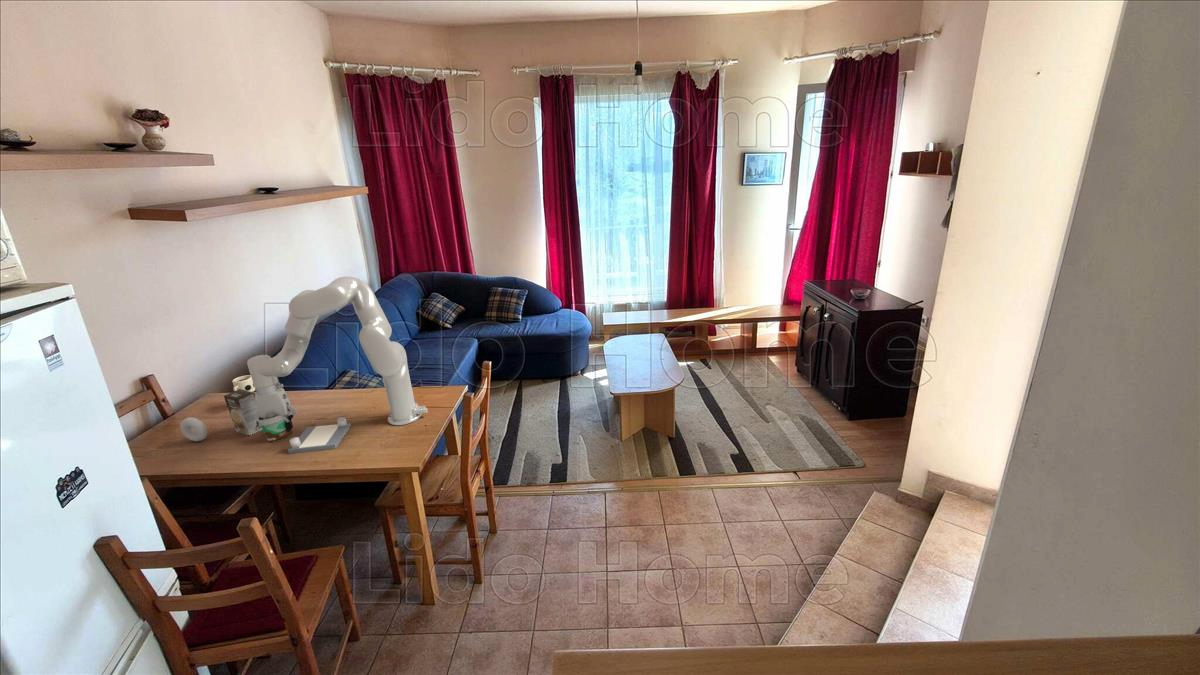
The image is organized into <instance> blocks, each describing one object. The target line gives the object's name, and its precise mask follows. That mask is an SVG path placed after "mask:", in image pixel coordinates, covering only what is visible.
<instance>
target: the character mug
mask: <svg viewBox="0 0 1200 675" xmlns="http://www.w3.org/2000/svg"><path fill="white" fill-rule="evenodd" d="M232 384H233V387H232V388H233V392H234V391H236V390H239V389H242V390H246V391H250V392H253V393H254V396H255V394H256V390H255V387H254V384H253V381H252V378H251V375H250V374H248V375H247V374H246V375H242V376H238V377H236V378H234V379H232Z"/></svg>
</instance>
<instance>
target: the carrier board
mask: <svg viewBox="0 0 1200 675" xmlns="http://www.w3.org/2000/svg"><path fill="white" fill-rule="evenodd" d="M336 422H337V423H335V424H328V425H317V426H309V427H306V428H305V430H303V432H302V433H301V435H299V436H294V437H292V438H289V444H290V447H289V448H287V452H288V454H289V455H290V454H300V453H308V452H317V451H325V450H333V449H336V448H338V446H339V444H340V443H341V442H342V440H343V439H344V437H345V436H344V435H346V434H347V433H348V431H349V430H350V428H351V427H352V424H351V422H347V419H346V417H345V416H341V417H338V418H337V419H336ZM350 426H351V427H350ZM349 427H350V428H349ZM348 429H349V430H348ZM346 432H347V433H346ZM342 438H343V439H342Z"/></svg>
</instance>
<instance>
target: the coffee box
mask: <svg viewBox="0 0 1200 675" xmlns="http://www.w3.org/2000/svg"><path fill="white" fill-rule="evenodd" d="M253 392H254V391H253ZM253 392H250V391H246V390H242V389H239V390H236V391H234V390H233V391H232V392H229V393H227V394H225V395H223V398H224V401H225V403H226V406H227V410H228V412H229V415H230V419H231V421H232V423H233V426H234V429H235V432H237V433H239V434H241V435H245V434H246V436H248V435H251V436H252V434H253V435H255V434H257V433H258V431H259V432H261V431H263V430H262V427H261V426H259V423H258V422H259V419H256V418H254V417H253V416H254V414H255V413H256V411H257V407H256V401H255V396H254V393H255V392H254V393H253ZM260 430H261V431H260ZM256 432H257V433H256ZM254 433H255V434H254Z"/></svg>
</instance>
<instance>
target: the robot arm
mask: <svg viewBox="0 0 1200 675" xmlns="http://www.w3.org/2000/svg"><path fill="white" fill-rule="evenodd" d="M349 302H351V303H352V306H353V308H354V312H355V314H356V315H357V317H358V319H359V322H360V323H361V327H362V328H361V329H360V331H359V337H358V340H359V343H360V347H361V348H362V350H363V352H364V354H365V356H366V357H367V359H368V361H369V364H370V365H371V367H372V369H373V370H374V371H375V372H376V374H378V375H380V376H381V377H382V382H383V385H384V389H385V394H386V395H385V396H386V399H387V404H388V407H389V411H390V415H388V416H387V422H388V424H390V425H392V426H403V425H408V424H411V423H414V422H415V421H417V420H418V419H420V418H421V416H422V415H423V414H424V413H425V414H426V413H428V412H429V411H428V407H427V406H426V405H421V406H420V405H419V404H418V403H419V402H415V395H414V392H413V386H412V382H411V377H410V373H409V372H410V371H409V365H408V357H407V352H406V350H405V347H404V346H403V345H402V344H401V343H400V342H397V341H395V340H394V341H392V340H390V338H391V336H392V332H393V329H392V326H391V324H390V322H389V319H388V318H387V316H386V314H385V312H384V310H383V308H382V307H381V305H380V303H379V300H378V299H377V297H376V295H375V293H374V291H373V289H372V288H371V287H370V285H368V283H366V282H365V281H364V280H362V279H360V278H357V277H353V276H341V277H337V278H335V279H334V280H332V281H330V283H329V284H328V285H326V286H323V287H321V288H318V289H316V290H314V289H305V290H303V291H301V292H299V293H297V295H295V296H294V297H292V299H291V300H290V301H289V304H288V309H289V310H288V311H289V316H288V318H287V320H286V322H285V324H284V325H285V326H284V330H285V331H286V332H287V337H286V339H285V341H284V345H283V347H282V349H281V351H279V352H278V353H277V354H276V355H275V356H273V357H271V356H270V355H269V354H260V355H255V356H253V357H250V358H249V359H247V362H246V364H247V367H248V371H249V373H250V374H249V375H251V378H252V381H253V384H254V387H255V401H256V407H257V411H256V413H255V414H254V416H253V417H254V418H256V419H259V420H264V419H265V418H271V417H276V416H278V415H280V416H284V418H285V419H284V420H285V421H286V422H285V426H286V430H287V432H290V431H291V430H292V431H293V428H294V424H293V421H292V419H293V418H294V417H295V416H296V414H297V413H298V412H299V410H298V409H296V408H295V407H293V406H292V404H291V401H290V399H289V395H288V394H287V392H286V391H285V389H284V384H283V383H280V381H279V377H286V376H288V375H291V373H292V372H293V371H294V370H295V369H296V368H297V367H298V366H299V365H300V363H301V362H302V361H303V358H304V356H305V353H306V351H307V349H308V346H309V344H310V340H311V337H312V336H311V335H312V333H313V331H314V328H315V326H316V324H317V321H318V319H319V317H320V316H323V315H325V314H328V313H332V312H333V311H337V310H339V309H341V308H343V307H345V306H346V305H347V304H348V303H349ZM288 411H290V412H291V414H289V413H288ZM287 414H288V415H289V416H288V418H287V416H286V415H287Z"/></svg>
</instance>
